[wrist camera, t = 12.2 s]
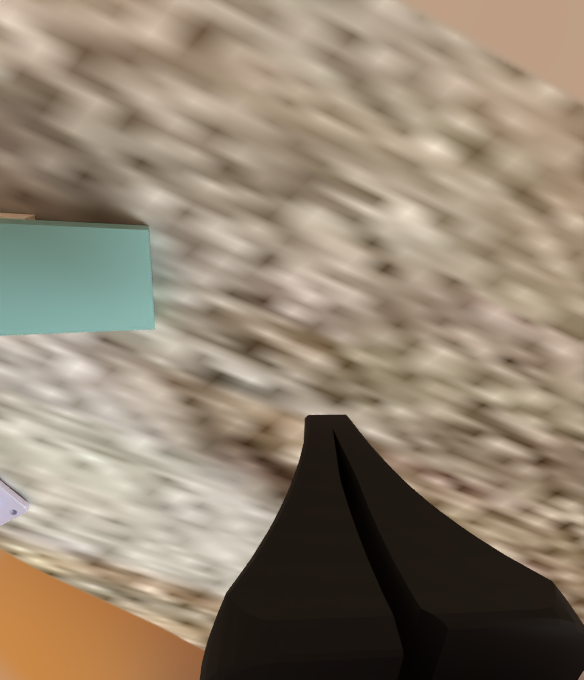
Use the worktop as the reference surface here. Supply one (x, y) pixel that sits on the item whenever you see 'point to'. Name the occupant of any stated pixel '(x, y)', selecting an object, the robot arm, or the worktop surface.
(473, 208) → the worktop surface
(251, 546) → the worktop surface
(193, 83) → the worktop surface
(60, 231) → the end tile
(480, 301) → the worktop surface
